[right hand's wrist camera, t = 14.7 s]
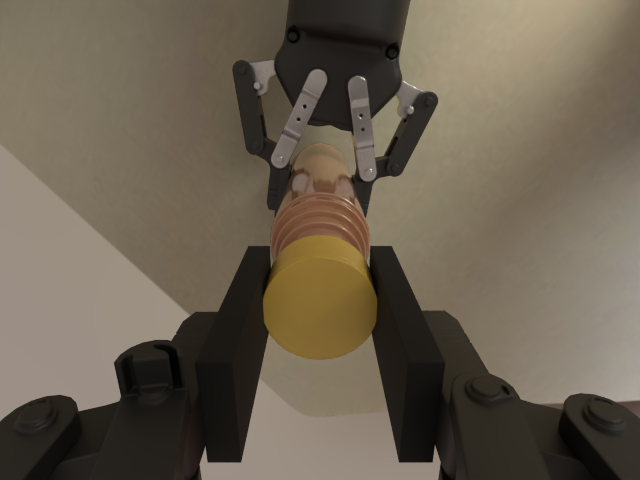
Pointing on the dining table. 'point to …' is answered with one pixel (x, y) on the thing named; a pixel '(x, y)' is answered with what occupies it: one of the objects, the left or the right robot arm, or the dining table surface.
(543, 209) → the dining table surface
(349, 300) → the cap
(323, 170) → the bottle
